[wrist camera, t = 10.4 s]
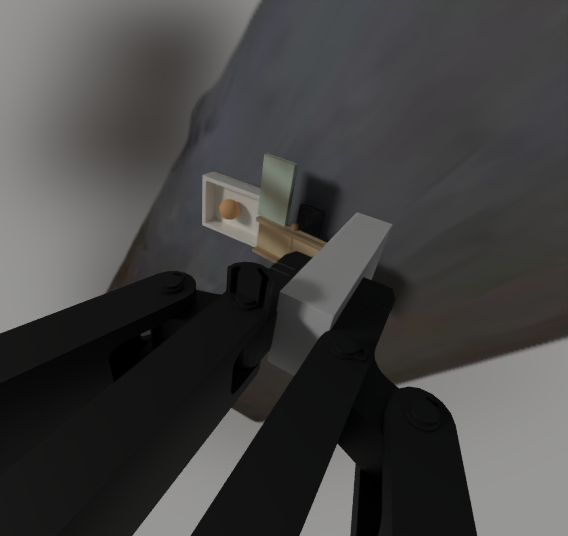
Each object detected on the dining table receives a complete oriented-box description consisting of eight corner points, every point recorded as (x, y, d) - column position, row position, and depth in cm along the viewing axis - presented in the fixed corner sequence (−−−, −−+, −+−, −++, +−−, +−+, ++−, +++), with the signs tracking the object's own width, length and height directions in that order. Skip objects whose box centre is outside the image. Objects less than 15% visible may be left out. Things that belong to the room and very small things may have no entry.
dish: (214, 171, 57) (202, 175, 54) (274, 192, 53) (265, 197, 50) (212, 219, 62) (202, 224, 60) (268, 242, 58) (259, 249, 56)
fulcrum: (301, 203, 51) (287, 213, 47) (324, 211, 50) (311, 222, 46) (292, 251, 56) (278, 263, 52) (313, 260, 55) (300, 273, 51)
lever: (268, 153, 45) (257, 156, 43) (379, 192, 38) (371, 197, 36) (256, 250, 53) (247, 255, 52) (345, 295, 47) (337, 303, 45)
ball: (230, 194, 57) (215, 198, 54) (244, 201, 55) (229, 206, 53) (229, 212, 59) (214, 217, 56) (243, 219, 57) (228, 225, 55)
